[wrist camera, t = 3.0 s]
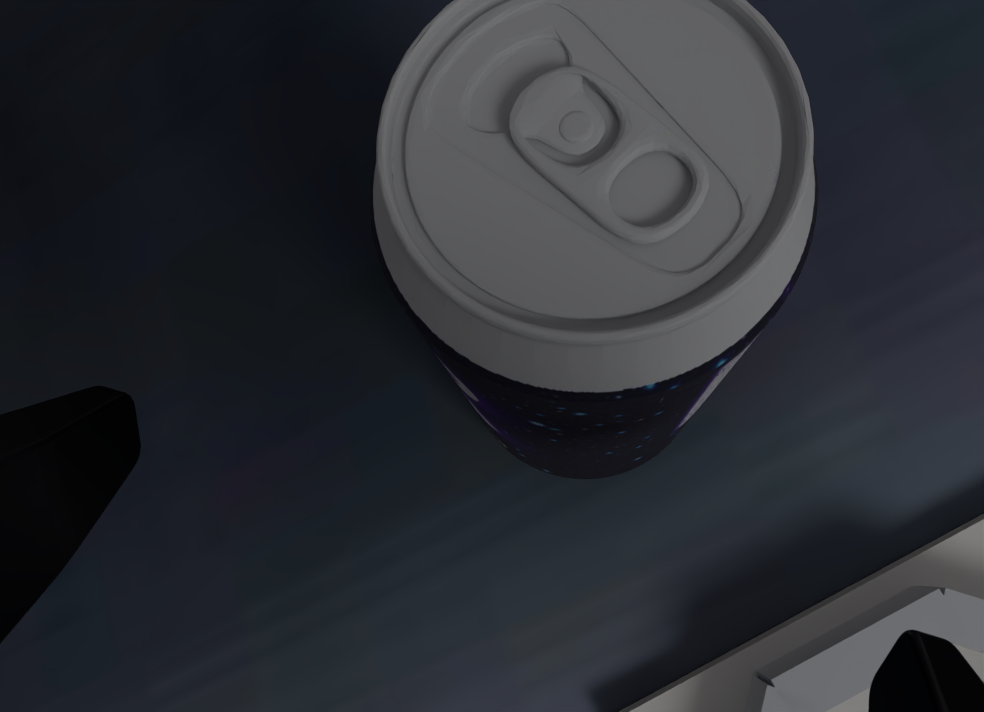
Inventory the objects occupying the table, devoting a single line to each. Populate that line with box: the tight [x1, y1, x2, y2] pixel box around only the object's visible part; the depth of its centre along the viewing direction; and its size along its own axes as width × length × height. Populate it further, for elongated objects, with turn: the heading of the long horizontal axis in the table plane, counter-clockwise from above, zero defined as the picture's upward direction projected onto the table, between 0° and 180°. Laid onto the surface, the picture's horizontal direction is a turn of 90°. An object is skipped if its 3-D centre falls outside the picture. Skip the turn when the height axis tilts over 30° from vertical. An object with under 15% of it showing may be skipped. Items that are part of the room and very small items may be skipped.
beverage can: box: [371, 0, 818, 479], centre depth 15 cm, size 6×6×12 cm
